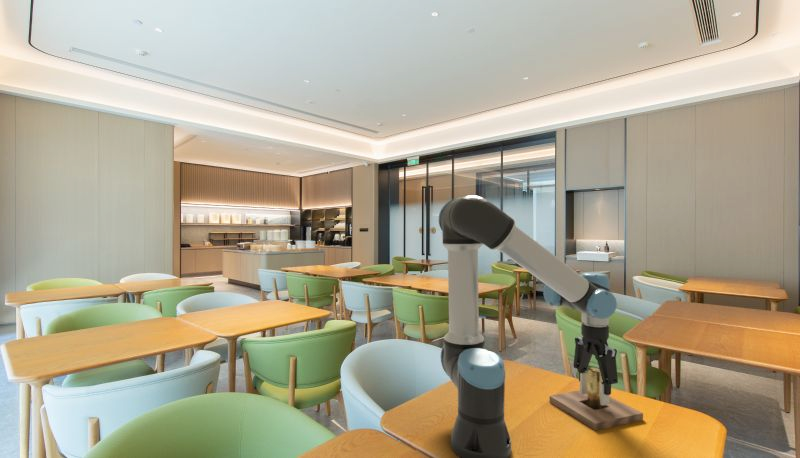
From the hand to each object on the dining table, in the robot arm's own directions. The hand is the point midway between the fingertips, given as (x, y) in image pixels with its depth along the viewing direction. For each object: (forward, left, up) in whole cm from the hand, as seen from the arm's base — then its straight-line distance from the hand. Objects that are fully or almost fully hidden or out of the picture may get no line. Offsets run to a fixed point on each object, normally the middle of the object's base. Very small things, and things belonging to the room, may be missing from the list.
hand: (594, 398), depth 116 cm
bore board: (0, 0, -4) cm, 4 cm away
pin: (0, 0, -3) cm, 3 cm away
